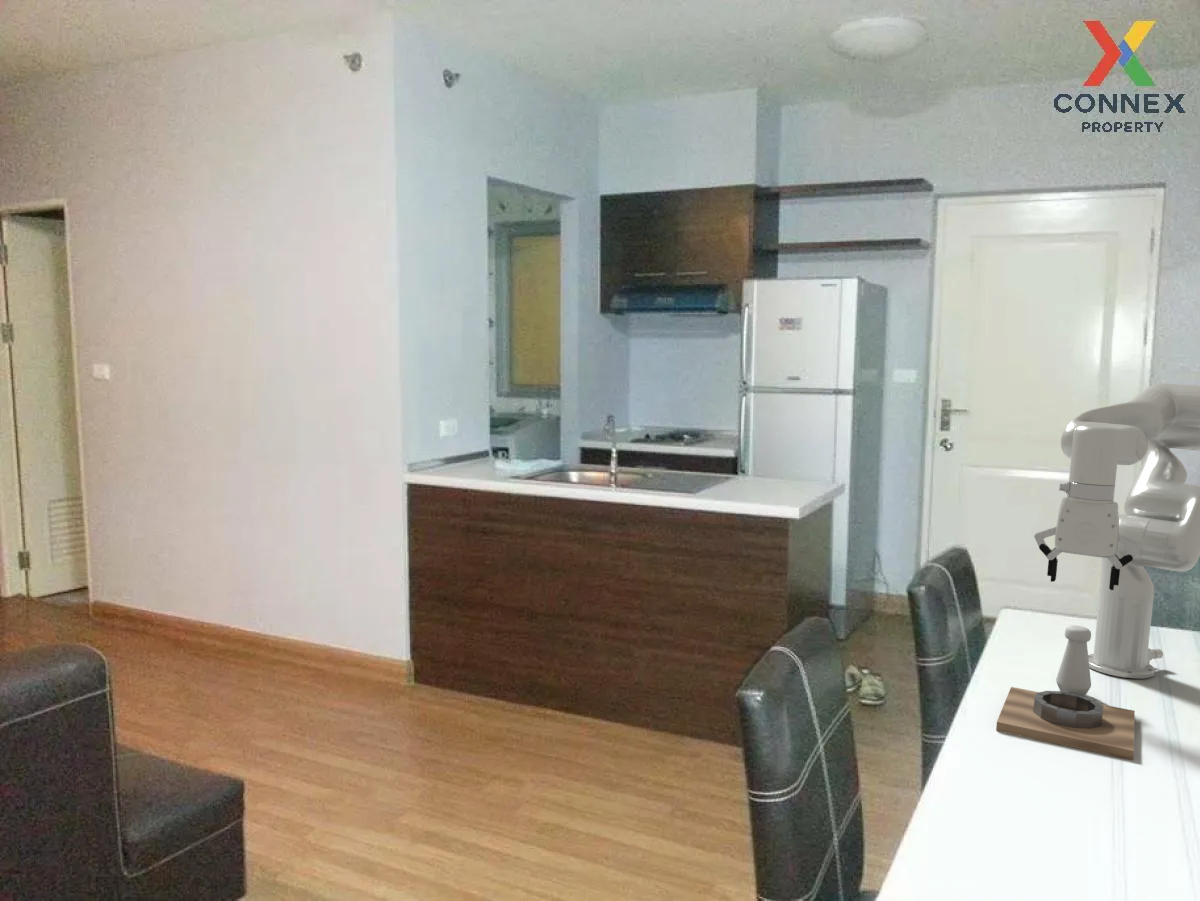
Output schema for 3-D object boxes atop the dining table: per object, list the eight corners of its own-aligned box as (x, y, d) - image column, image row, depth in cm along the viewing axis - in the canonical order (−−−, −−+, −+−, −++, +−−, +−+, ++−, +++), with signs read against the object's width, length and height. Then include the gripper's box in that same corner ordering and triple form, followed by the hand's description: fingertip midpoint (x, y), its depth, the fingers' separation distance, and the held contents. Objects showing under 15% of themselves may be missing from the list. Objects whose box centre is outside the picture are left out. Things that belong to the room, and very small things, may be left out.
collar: (1036, 700, 167) (1038, 686, 167) (1102, 713, 162) (1104, 699, 161) (1031, 719, 158) (1032, 704, 158) (1100, 733, 153) (1101, 718, 152)
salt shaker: (1093, 702, 171) (1100, 633, 170) (1060, 698, 172) (1066, 630, 171) (1084, 690, 177) (1090, 624, 176) (1051, 687, 178) (1057, 621, 177)
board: (1010, 694, 173) (1011, 686, 173) (1133, 718, 164) (1134, 710, 163) (996, 730, 156) (996, 721, 156) (1133, 760, 146) (1133, 751, 146)
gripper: (1037, 489, 172) (1028, 581, 173) (1145, 500, 163) (1135, 596, 165) (1040, 485, 178) (1032, 573, 180) (1145, 496, 169) (1135, 588, 171)
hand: (1081, 584), depth 172 cm, fingers open, 9 cm apart
